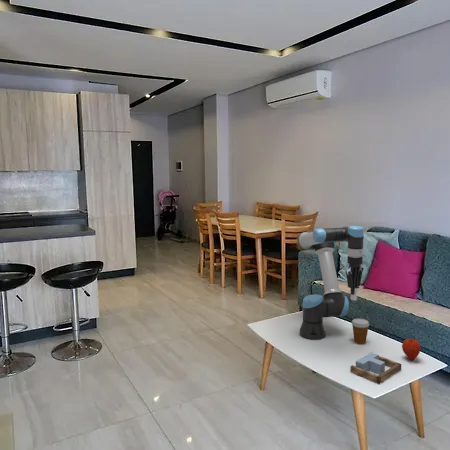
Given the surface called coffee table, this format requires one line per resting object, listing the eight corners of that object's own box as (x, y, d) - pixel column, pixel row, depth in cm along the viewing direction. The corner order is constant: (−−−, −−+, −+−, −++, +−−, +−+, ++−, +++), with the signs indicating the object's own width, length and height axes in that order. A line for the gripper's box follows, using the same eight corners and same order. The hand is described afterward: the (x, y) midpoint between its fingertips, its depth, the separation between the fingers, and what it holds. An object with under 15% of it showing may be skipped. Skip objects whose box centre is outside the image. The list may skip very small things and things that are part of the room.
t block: (355, 370, 194) (355, 361, 193) (371, 361, 203) (371, 352, 202) (374, 378, 186) (374, 368, 186) (390, 368, 195) (390, 358, 194)
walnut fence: (350, 371, 193) (350, 366, 192) (372, 359, 205) (372, 353, 205) (379, 384, 181) (379, 378, 181) (401, 369, 194) (401, 363, 193)
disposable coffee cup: (347, 339, 229) (348, 319, 227) (360, 336, 232) (361, 317, 231) (359, 346, 220) (359, 325, 219) (372, 343, 224) (373, 322, 222)
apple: (397, 357, 206) (398, 337, 205) (409, 354, 210) (410, 334, 208) (411, 364, 198) (412, 344, 197) (423, 361, 202) (424, 340, 200)
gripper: (353, 259, 200) (352, 304, 203) (368, 255, 207) (367, 299, 211) (341, 256, 205) (340, 300, 209) (356, 253, 213) (354, 295, 217)
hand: (353, 299), depth 210 cm, fingers closed
